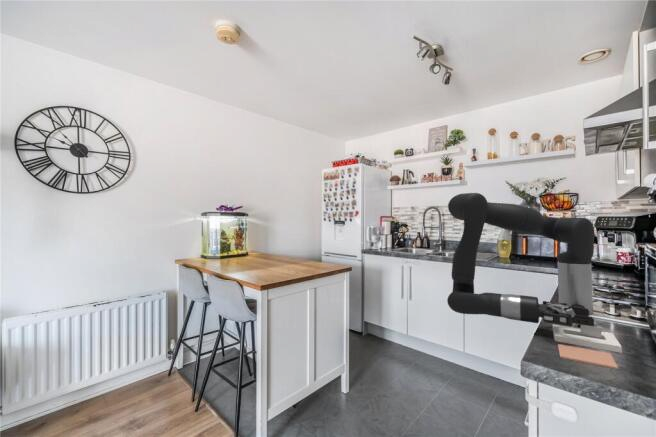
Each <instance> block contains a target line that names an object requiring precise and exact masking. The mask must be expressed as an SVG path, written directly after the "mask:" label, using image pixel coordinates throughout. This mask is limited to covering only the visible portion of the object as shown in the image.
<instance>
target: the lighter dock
mask: <svg viewBox="0 0 656 437" xmlns="http://www.w3.org/2000/svg"><path fill="white" fill-rule="evenodd" d="M552 333H553V340H554V342H557V343H563V344H564V343H565V344H570V345H576V346H581V347H587V348H591V349H592V348H593V349H598V350H603V351H604V350H605V351H608V352H615V353H616V352H617V353H620V354H622V353H623V348H622V347H623V346H622V345H621V344H620V342H619V341H618V338H616V336H615V335H614V333H613V332H606V331H601V335H602V339H597V338H591V337H584V336H581V330H580V328H578V327H574V326H566V325H560V324H553V323H552Z"/></svg>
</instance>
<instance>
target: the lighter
mask: <svg viewBox="0 0 656 437" xmlns="http://www.w3.org/2000/svg"><path fill="white" fill-rule="evenodd" d="M566 312H567V313H570V314H573V315H574V316H575V315H576V314H575V313H574V311H573V309H572V308H571V309H567V310H566ZM577 325H580V324H574V325H573V326H577ZM580 330H581V336H584V337H591V338H597V339H602V335H601V332H602V326H600V325H598V323H597V322H595V321H594V326H587V325H580Z"/></svg>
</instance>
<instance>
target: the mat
mask: <svg viewBox="0 0 656 437" xmlns="http://www.w3.org/2000/svg"><path fill="white" fill-rule="evenodd" d="M557 348H558V353H559V354H558V355H559V358H560V359H565V360H570V361H574V362H575V361H576V362H580V363H585V364H591V365H594V366H599V367H603V368H604V367H605V368H611V369H615V370H619V367H618V366H619V365H617V363H616V361H615V359H614V357H613V356H612V354H611V353H609V352H606V351H605V352H603V351H599V350H593V349H588V348H582V347H576V346H571V345H565V344H559V343H558V344H557Z"/></svg>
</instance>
